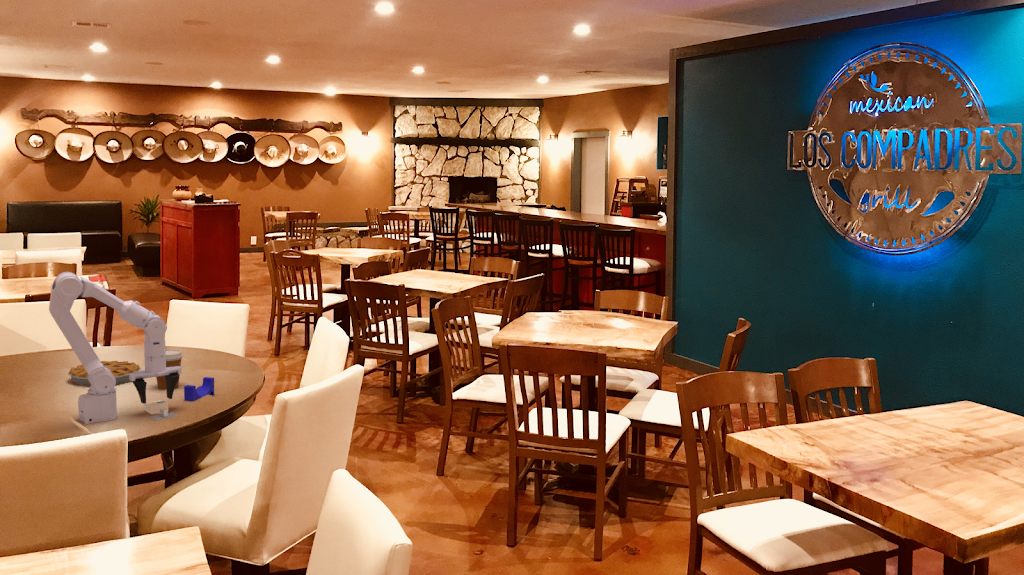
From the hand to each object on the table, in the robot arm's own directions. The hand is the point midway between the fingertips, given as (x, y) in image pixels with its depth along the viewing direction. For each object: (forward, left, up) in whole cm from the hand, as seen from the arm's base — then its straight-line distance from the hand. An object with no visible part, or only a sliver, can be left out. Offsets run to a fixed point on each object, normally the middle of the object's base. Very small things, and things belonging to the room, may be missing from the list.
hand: (156, 400), depth 238 cm
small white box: (0, 0, -4) cm, 4 cm away
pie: (+3, +51, -5) cm, 51 cm away
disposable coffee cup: (+15, +28, -5) cm, 32 cm away
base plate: (-1, -6, -4) cm, 8 cm away
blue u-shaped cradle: (+16, +9, -5) cm, 19 cm away
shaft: (-1, -6, -3) cm, 7 cm away
